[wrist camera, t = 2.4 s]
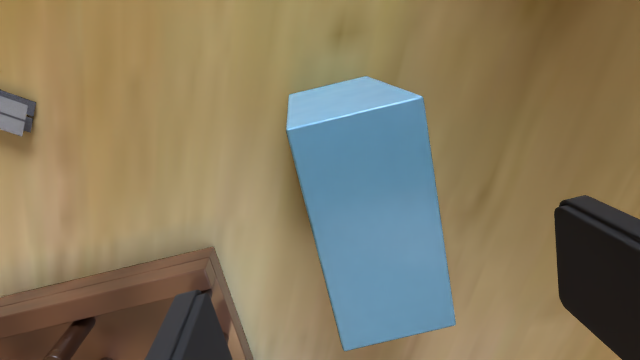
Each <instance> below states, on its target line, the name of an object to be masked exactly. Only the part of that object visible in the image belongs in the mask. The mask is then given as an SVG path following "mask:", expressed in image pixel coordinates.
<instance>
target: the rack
mask: <svg viewBox="0 0 640 360" xmlns="http://www.w3.org/2000/svg"><path fill="white" fill-rule="evenodd" d="M194 290H200V291H201V293H202V294H205V293H207V294H208V295H209V296H210V298H211V301H212V304H213V306H214V309H215V312H216V315H217V317H218V320H219V323H220V326H221V328H222V331H223V334H224V337H225V339H226V342H227V345H228V348H229V350H230V353H231V356H232V359H233V360H253V357H252V354H251V351H250V348H249V345H248V343H247V340H246V337H245V334H244V331H243V328H242V326H241V323H240V320H239V317H238V314H237V311H236V309H235V306H234V303H233V300H232V297H231V294H230V292H229V289H228V286H227V283H226V280H225V277H224V274H223V272H222V269H221V266H220V263H219V260H218V257H217V255H216V252H215V249H214V247H210V248H205V249H201V250H197V251H193V252H189V253H184V254H180V255H176V256H172V257H168V258H163V259H159V260H155V261H151V262H147V263H142V264H138V265H134V266H130V267H126V268H121V269H117V270H113V271H109V272H105V273H100V274H96V275H92V276H88V277H84V278H79V279H75V280H71V281H67V282H63V283H58V284H54V285H50V286H46V287H42V288H37V289H33V290H29V291H25V292H21V293H16V294H12V295H8V296H4V297H0V360H144V359H145V358H146V356H147V354H148V352H149V350H150V348H151V346H152V344H153V342H154V340H155V337H156V335H157V333H158V331H159V329H160V327H161V325H162V323H163V321H164V319H165V317H166V314H167V312H168V310H169V308H170V306H171V304H172V302H173V300H174V298H175V296H176V295H178V294H182V293H186V292H190V291H194Z"/></svg>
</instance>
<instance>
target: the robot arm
mask: <svg viewBox="0 0 640 360" xmlns="http://www.w3.org/2000/svg"><path fill="white" fill-rule="evenodd" d="M554 218H555V235H556V253H557V271H558V288H559V297H560V300H561V302H562V304H563V306H564V307H565V308H566V309H567V310H568V311H569V312H570V313H571V314H572V315H573V316H575V317H576V318H577V319H578V320H579V321H580V322H581V323H582V324H583V325H584V326H586V327H587V328H588V329H589V330H590V331H591V332H592V333H593V334H594V335H596V336H597V337H598V338H599V339H600V340H601V341H602V342H603V343H604V344H605V345H607V346H608V347H609V348H610V349H611V350H612V351H613V352H614V353H615V354H617V355H618V356H619V357H620V358H621V359H622V360H640V220H639V219H637V218H635V217H633V216H631V215H629V214H626V213H624V212H622V211H620V210H618V209H616V208H613V207H611V206H609V205H607V204H605V203H602V202H600V201H598V200H596V199H594V198H592V197H589V196H586V195H584V196H579V197H575V198H571V199H567V200H563V201H561V202H560V205H559V207H557V208H556V209H555V211H554ZM144 360H233V359H232V356H231V353H230V350H229V348H228V345H227V342H226V339H225V337H224V334H223V331H222V328H221V326H220V323H219V320H218V317H217V315H216V312H215V309H214V306H213V304H212V301H211V298H210V296H209V295H208V294H207V293H205V294H202V293H201V291H200V290H194V291H190V292H186V293H182V294H178V295H176V296H175V298H174V300H173V302H172V304H171V306H170V308H169V310H168V312H167V314H166V317H165V319H164V321H163V323H162V325H161V327H160V329H159V331H158V333H157V335H156V337H155V340H154V342H153V344H152V346H151V348H150V350H149V352H148V354H147V356H146V358H145V359H144Z"/></svg>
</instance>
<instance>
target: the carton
mask: <svg viewBox="0 0 640 360" xmlns="http://www.w3.org/2000/svg"><path fill="white" fill-rule="evenodd" d="M286 133H287V137H288V140H289V144H290V148H291V152H292V156H293V160H294V163H295V167H296V171H297V175H298V179H299V183H300V187H301V190H302V194H303V198H304V202H305V206H306V210H307V213H308V217H309V221H310V225H311V229H312V233H313V237H314V240H315V244H316V248H317V252H318V256H319V260H320V263H321V267H322V271H323V275H324V279H325V283H326V287H327V290H328V294H329V298H330V302H331V306H332V310H333V313H334V317H335V321H336V325H337V329H338V333H339V337H340V340H341V344H342V348H343V350H344V351H348V350H352V349H357V348H361V347H365V346H369V345H374V344H378V343H382V342H386V341H391V340H395V339H399V338H403V337H408V336H412V335H416V334H420V333H425V332H429V331H433V330H438V329H442V328H446V327H450V326H454V325H456V321H455V314H454V307H453V300H452V293H451V286H450V279H449V272H448V266H447V259H446V252H445V245H444V238H443V231H442V224H441V217H440V210H439V203H438V196H437V189H436V182H435V175H434V168H433V161H432V154H431V147H430V140H429V133H428V127H427V120H426V113H425V106H424V99H423V97H422V96H420V95H417V94H414V93H411V92H409V91H406V90H403V89H400V88H398V87H395V86H392V85H390V84H387V83H384V82H381V81H379V80H376V79H373V78H370V77H368V76H364V77H360V78H356V79H352V80H348V81H344V82H339V83H335V84H331V85H327V86H323V87H319V88H314V89H310V90H306V91H302V92H298V93H294V94H290V95H289V99H288V112H287V126H286Z"/></svg>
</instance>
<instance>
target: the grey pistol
mask: <svg viewBox="0 0 640 360" xmlns="http://www.w3.org/2000/svg"><path fill="white" fill-rule="evenodd" d="M35 106H36V102H33V101H30V100H28V99H25V98H22V97H19V96H16V95H13V94H10V93H7V92H5V91H2V90H1V89H0V129H1V130H4V131H7V132H10V133H13V134H16V135H19V136H22V135H23V130H24V131H27V132H31V127H32V122H33V119H32V118H29V117H26V114H27V115H30V116H34V111H35Z"/></svg>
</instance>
